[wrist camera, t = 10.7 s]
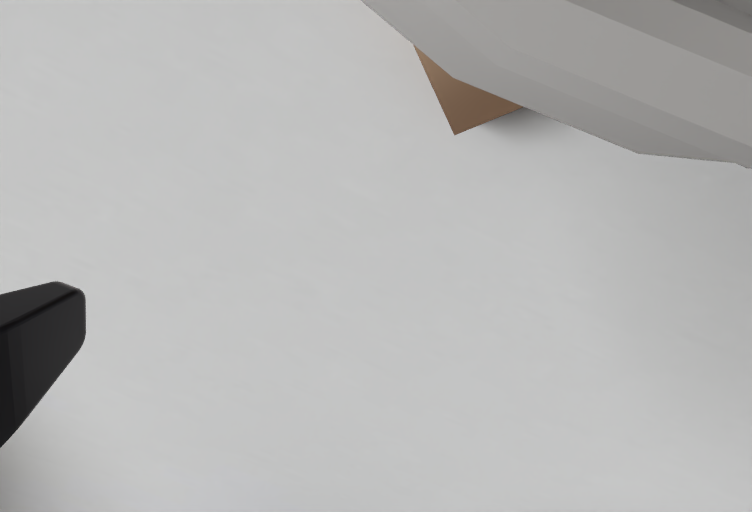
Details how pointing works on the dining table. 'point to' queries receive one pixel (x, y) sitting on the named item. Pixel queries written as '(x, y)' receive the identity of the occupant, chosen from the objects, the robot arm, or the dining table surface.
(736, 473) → the dining table surface
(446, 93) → the walnut block
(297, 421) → the dining table surface
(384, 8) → the can
